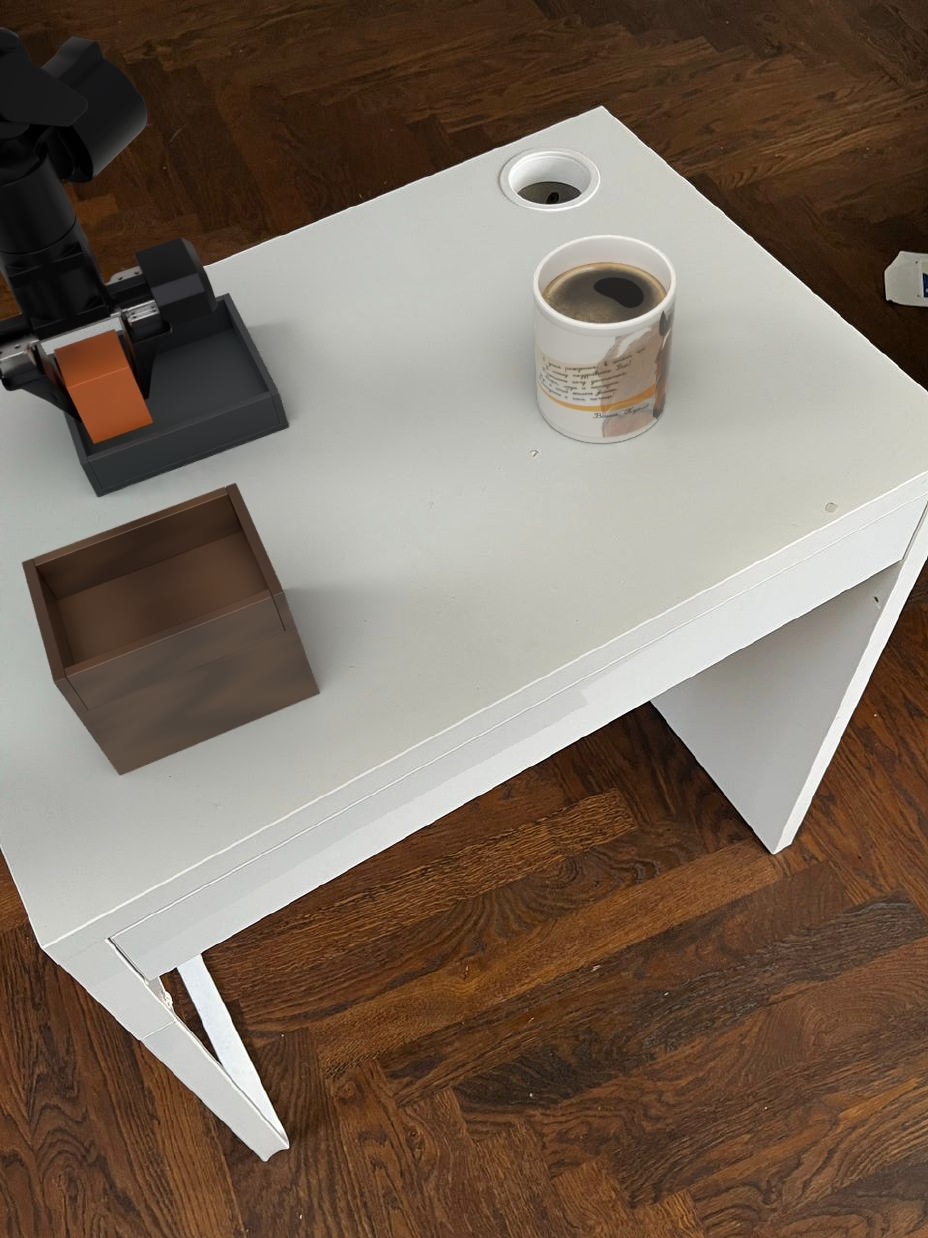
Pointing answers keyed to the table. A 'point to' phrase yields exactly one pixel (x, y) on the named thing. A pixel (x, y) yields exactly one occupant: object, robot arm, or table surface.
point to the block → (103, 386)
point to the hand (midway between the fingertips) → (113, 406)
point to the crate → (169, 629)
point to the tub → (189, 403)
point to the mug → (603, 336)
